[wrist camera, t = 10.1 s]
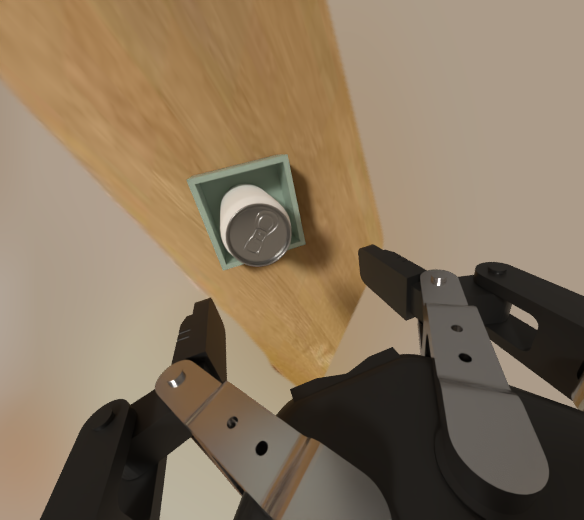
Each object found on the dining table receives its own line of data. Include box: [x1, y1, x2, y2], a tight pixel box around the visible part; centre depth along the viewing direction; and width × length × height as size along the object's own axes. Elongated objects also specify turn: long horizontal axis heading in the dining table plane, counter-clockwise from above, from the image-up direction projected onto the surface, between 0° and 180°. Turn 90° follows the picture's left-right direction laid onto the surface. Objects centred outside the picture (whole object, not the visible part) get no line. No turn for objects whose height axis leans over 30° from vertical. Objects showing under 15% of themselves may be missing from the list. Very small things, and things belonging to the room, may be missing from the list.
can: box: [220, 184, 292, 267], centre depth 25 cm, size 6×6×12 cm
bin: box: [187, 154, 306, 270], centre depth 29 cm, size 11×11×5 cm
